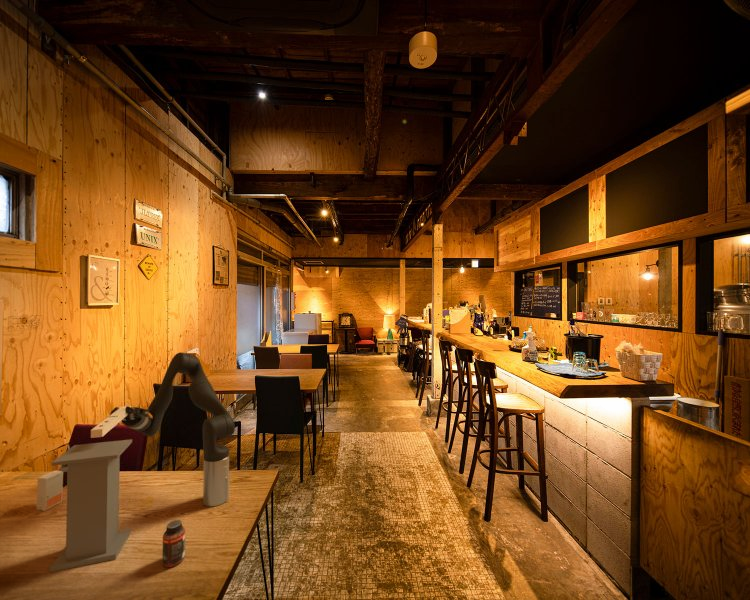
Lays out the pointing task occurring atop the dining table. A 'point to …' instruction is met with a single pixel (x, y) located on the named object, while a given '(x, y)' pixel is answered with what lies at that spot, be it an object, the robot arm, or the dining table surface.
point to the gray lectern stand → (92, 504)
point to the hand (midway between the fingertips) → (121, 409)
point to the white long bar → (109, 423)
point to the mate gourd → (64, 472)
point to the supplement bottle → (173, 544)
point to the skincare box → (49, 490)
